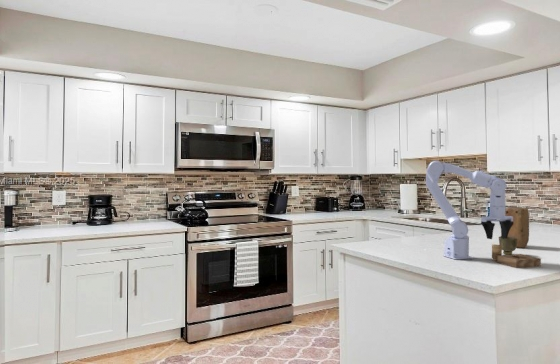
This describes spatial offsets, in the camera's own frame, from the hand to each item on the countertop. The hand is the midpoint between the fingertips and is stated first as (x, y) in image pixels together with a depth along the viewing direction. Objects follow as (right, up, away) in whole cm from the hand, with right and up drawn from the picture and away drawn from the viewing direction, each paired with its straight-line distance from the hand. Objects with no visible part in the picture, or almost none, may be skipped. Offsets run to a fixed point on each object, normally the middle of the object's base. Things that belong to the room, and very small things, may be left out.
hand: (496, 238), depth 159 cm
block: (+28, -9, +32) cm, 43 cm away
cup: (+12, -9, +13) cm, 20 cm away
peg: (0, -9, 0) cm, 9 cm away
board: (+5, -10, -7) cm, 13 cm away
